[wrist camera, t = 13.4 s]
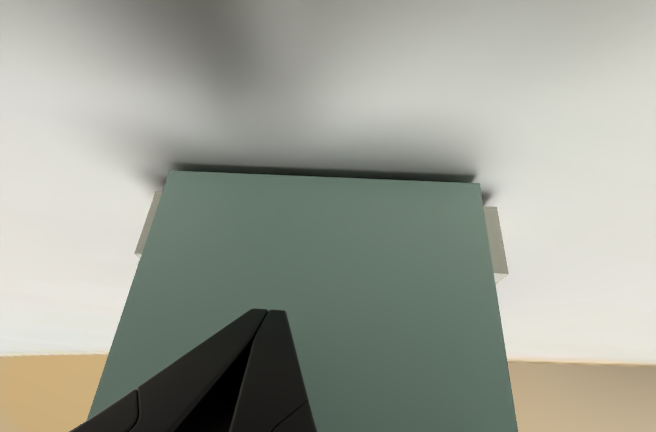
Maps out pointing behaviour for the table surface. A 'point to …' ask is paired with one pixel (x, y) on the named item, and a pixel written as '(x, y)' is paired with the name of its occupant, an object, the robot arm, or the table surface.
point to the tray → (330, 294)
